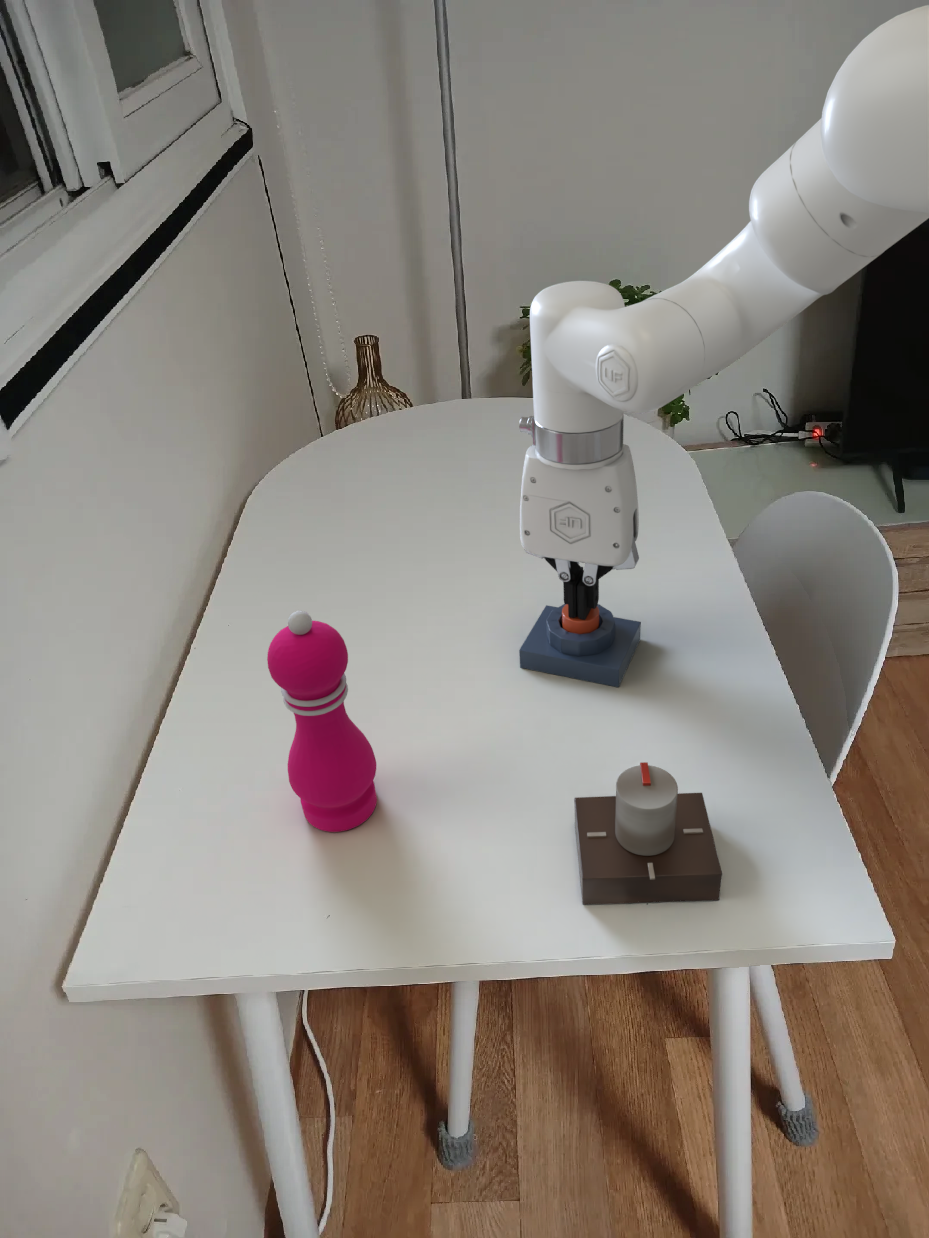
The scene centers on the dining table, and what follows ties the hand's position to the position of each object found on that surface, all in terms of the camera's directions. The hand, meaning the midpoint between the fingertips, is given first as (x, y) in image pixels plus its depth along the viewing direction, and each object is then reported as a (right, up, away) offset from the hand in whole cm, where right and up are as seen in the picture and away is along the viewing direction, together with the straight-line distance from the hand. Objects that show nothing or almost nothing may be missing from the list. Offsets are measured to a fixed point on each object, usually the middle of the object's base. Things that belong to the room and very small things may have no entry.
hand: (581, 610), depth 92 cm
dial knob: (+2, -17, -20) cm, 26 cm away
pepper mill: (-22, -17, -11) cm, 30 cm away
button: (0, -1, +1) cm, 2 cm away
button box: (0, -4, +3) cm, 5 cm away
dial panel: (+3, -19, -18) cm, 27 cm away
